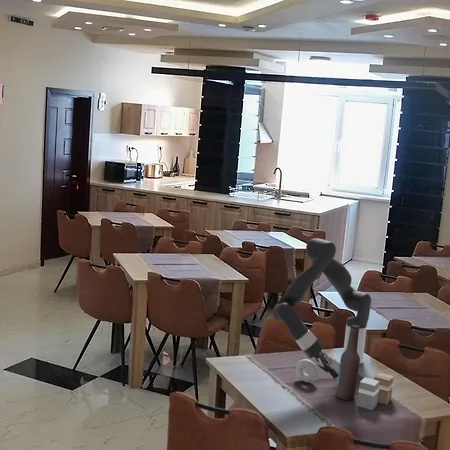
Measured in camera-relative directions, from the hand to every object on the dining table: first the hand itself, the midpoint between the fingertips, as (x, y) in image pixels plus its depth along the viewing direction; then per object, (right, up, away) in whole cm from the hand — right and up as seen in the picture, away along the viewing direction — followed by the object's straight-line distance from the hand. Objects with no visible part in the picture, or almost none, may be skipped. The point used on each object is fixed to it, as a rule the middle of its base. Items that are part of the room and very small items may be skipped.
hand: (336, 376), depth 274 cm
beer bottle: (+3, -8, +1) cm, 9 cm away
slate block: (+11, -10, -6) cm, 16 cm away
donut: (-11, -5, +13) cm, 18 cm away
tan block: (+18, -9, 0) cm, 20 cm away
